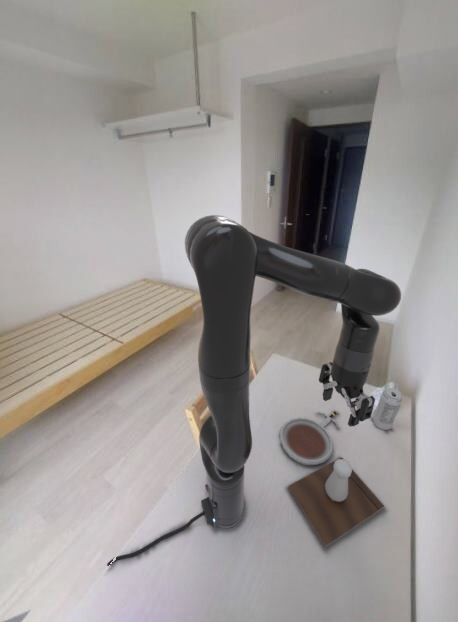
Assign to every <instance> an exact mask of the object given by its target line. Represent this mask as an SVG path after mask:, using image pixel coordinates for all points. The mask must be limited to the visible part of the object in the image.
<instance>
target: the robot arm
mask: <svg viewBox="0 0 458 622" xmlns="http://www.w3.org/2000/svg"><path fill="white" fill-rule="evenodd" d="M184 250H185V254H186V257H187V260H188V262H189V263H190V266H191V268H192V269H193V272H194V275H195V278H196V282H197V286H198V290H199V297H200V302H201V310H202V321H203V324H202V331H201V336H200V338H199V343H198V350H197V351H198V352H197V363H198V372H199V374H198V375H199V383H200V388H201V391H202V395H203V397H204V400H205V402H206V405H207V407H208V411H209V413H210V415H209V416H207V418H206V419H205V420H204V421H203V423H202V425H201V427H200V430H199V433H198V434H199V435H198V442H199V443H198V444H199V450H200V456H201V461H202V465H203V467H204V470H205V474H206V475H205V476H206V484H205V485H204V488H205V498H203V499H201V500H200V505H201V508H202V512H200V513H197V514H196V515H195V516H194V517H192V518H191V519H189V521H188V522H186V524H184V525H182V526H180V527H178V528H176V529H174V530H172V531H170V532H167V533H165V534H164V535H162V536H160V537H157V538H156V539H154V540H153V541H152V542H150V543H148V544H147V545H145V546H143V547H142V548H140V549H138V550H136V551H134V552H130V553H127V554H122V555H118V556H115V557H116V560H115V561H114V562H112V561H113V559H114V558H115V557H113V558H112V559H110V560H109V561H108V562H107V564H106V566H107V567H110V566H111V565H110V563H111V562H112V564H114V563H116V562H118V561H121V560H122V561H123V560H127V559H132V558H134V557H137V556H139V555H141V554H142V553H144V552H146V551H148V550H149V549H150V548H152V547H154V546H155V545H157V544H158V543H160V542H162V541H164V540H165V539H167V538H170V537H172V536H174V535H176V534H178V533H180V532H183V531H184V530H186V529H187V528H188V527H190V526H191V525H192V524H193V523H194V522H195V521H197V520H198V519H200V518H201V517H203V516H204V518H205V520H206V524H207V526H209V525H211V524H213V527H214V529H216V528H223V529H230V528H231V529H232V528H233V527H235V526H237V525H238V524H239V523H240V522H241V520H242V518H243V516H244V512H245V466H246V465H245V464H247V461H248V460H249V458H250V456H251V453H252V449H253V436H252V429H251V427H252V426H251V420H250V383H251V312H252V304H253V298H254V290H255V283H256V277H259V278H262V279H264V280H267V281H271V282H272V283H276V284H278V285H280V286H283V287H285V288H287V289H289V290H291V291H294V292H296V293H299V294H302V295H305V296H307V297H310V298H314V299H320V300H324V301H328V302H334V303H337V304H340V307H341V319H342V325H341V328H340V333H339V337H338V341H337V344H336V347H335V350H334V353H333V354H334V355H333V359H332V361H330V362H327V363H323V364H322V366H321V369H320V373H319V376H318V382H319V383H320V384H322V388H323V392H322V399H323V401H324V402H327V401H330V400H331V399H332V397H333V392H334V389H335V392H337V393H338V394H339V395H340V396H341V397H342V398H343V399H344V400H345V403H346V406H347V407H348V408H349V410H350V414H349V417H348V421H347V425H348V427H350V428H351V427H355V426H358V425H359V424H360V422H361V423H362V422H364V421H366V420H368V419H370V418H372V414H373V410H374V407H375V402H376V398H375V396H373V395H370V396H369V395H367V394H366V393H365V392H364V386H365V384H366V382H367V381H368V376H369V373H370V369H371V367H372V364H373V363H372V362H373V360H374V356H375V355H374V354H375V348H376V346H377V342H378V338H379V335H380V331H381V326H380V324H379V321H378V320H377V319H376V318H375V317H377V316H385V315H388V314H390V313H392V312H393V311H394V310H396V309H397V308H398V306H399V305H400V303H401V300H402V291H401V288H400V286H399V285H398V284H397V283H396V282H395V281H393V280H392V279H390V278H388V277H385V276H383V275H381V274H380V273H379V274H378V273H376V272H375V271H372V270H370V269H367V268H358V269H357V268H354V267H352V266H350V265H349V264H347V263H344V262H340V261H338V260H334V259H331V258H328V257H324V256H321V255H318V254H315V253H311V252H306V251H302V250H300V249H295V248H292V247H288V246H286V245H282V244H279V243H277V242H274V241H271V240H269V239H266V238H263V237H261V236H259V235H256V234H254V233H253V232H251V231H249V230H248V229H247V228H245V227H244V226H243V225H242V224H240V223H238V222H237V221H235V220H233V219H231V218H229V217H227V216H225V215H219V214H211V215H205V216H202V217H200V218H199V219H197V220H195V221H194V222H193V223H192V224H191V225H190V226H189V228H188V230H187V231H186V234H185V237H184ZM374 316H375V317H374ZM330 379H331V381H330ZM352 399H355V400H353V401H352ZM109 565H110V566H109Z"/></svg>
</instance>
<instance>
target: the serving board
mask: <svg viewBox="0 0 458 622" xmlns="http://www.w3.org/2000/svg"><path fill="white" fill-rule="evenodd" d="M338 459H343V460H345V459H344V458H343V457H339V458H338ZM338 459H336V460H338ZM336 460H335V461H336ZM335 461H333V462H331V463H329V464H327V465H325V466H323V467H322V468H319V469H318V470H315V471H314V472H311V473H310V474H307V476H304V477H303V478H300V479H299V480H297V481H295V482H293V483H292V484H290V485H288V488H287V490H288V492H290V494H291V496H292V497H293V499H294V501H295V502H296V504H297V505H298V507H299V509H300V511H301V512H302V513H303V515H304V517H305V519H306V520H307V522H308V523H309V525H310V526H311V529H313V532H314V533H315V534H316V537H317V538H318V539H319V542H320V543H321V545H322V546H323V547H324V549H326V548H328V547H329V546H331V545H333V544H334V543H335V542H337V541H338V540H340V539H341V538H343V537H344V536H346V535H347V534H348V533H350V532H352V531H353V530H354V529H356V528H358V527H359V526H360V525H362V524H364V522H365V523H366V521H368V520H369V519H371V518H372V517H374V516H375V515H376V514H378V513H380V512H381V511H383V510H384V508H385V505H384V504H383V502H381V501H380V499H379V498H378V496H377V495H375V493H373V491H372V490H371V489H370V487H368V486H367V484H366V483H365V482H364V481H363V480H362V478H361V477H360V476H359V475H358V474H357V473H356V472H355V470H354V469H353V468H352V473H351V475H350V477H348V495H347V498H346V499H345V500H343V501H341V502H336V501H332V500H331V499H330V497H329V496H328V495H327V493H326V489H325V484H326V481H327V479H328V478H329V476H330V475H331V474H332V472H333V471H334V467H333V466H334V463H335Z"/></svg>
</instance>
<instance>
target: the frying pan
mask: <svg viewBox="0 0 458 622" xmlns="http://www.w3.org/2000/svg"><path fill="white" fill-rule="evenodd" d="M339 412H340V411H339V410H338V409H334V410H333V412H332V413H331V414H329V415H328V414H326V413H324V412H321V411H317V414H318V415H322V416H324V417H325V418H324V419H323V420H322V421H321V422H318V421H316V420H313V419H311V418H308V417H295V418H291V419H290V420H288V421H286V422H285V423H284V424H283V425H282V426H281V429H280V432H279V439H280V443H281V445H282V448H283V450H284V451H285V453H286V454H287V455H288V456H289V457H290V458H291V459H292V460H294V461H295V462H297V463H299V464H302V465H304V466H312V467H313V466H318V465H321V464H323V463H324V462H326V461H327V460H329V459H330V457H331V455H332V454H333V453H334V452H333V451H334V442H333V439H332V436H331V435H330V433H329V432H328V430H327V429H326V426H327V425H328V424H329V423H330V422H332V423H334V424H335V426H336V428H337V429H338V428H339V424H338V423H337V421H336V420H335V419H333V418H334V417H335V416H336V415H338V414H339Z"/></svg>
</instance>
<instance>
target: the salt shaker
mask: <svg viewBox="0 0 458 622" xmlns="http://www.w3.org/2000/svg"><path fill="white" fill-rule="evenodd" d="M343 459H344V458H343ZM343 459H339V458H338V460H337V459H336V460H335V463H334V466H333V467H334V471H333V472H332V474H331V475H330V476H329V478H328V479H327V481H326V484H325V489H326V493H327V495H328V496H329V497H330V499H331V500H332V501H336V502H341V501H343V500H345V499H346V498H347V495H348V477H350V475H351V473H352V469H353V468H352V465H351V464H350V463H349V461H347V460H345V459H344V460H343Z"/></svg>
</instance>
